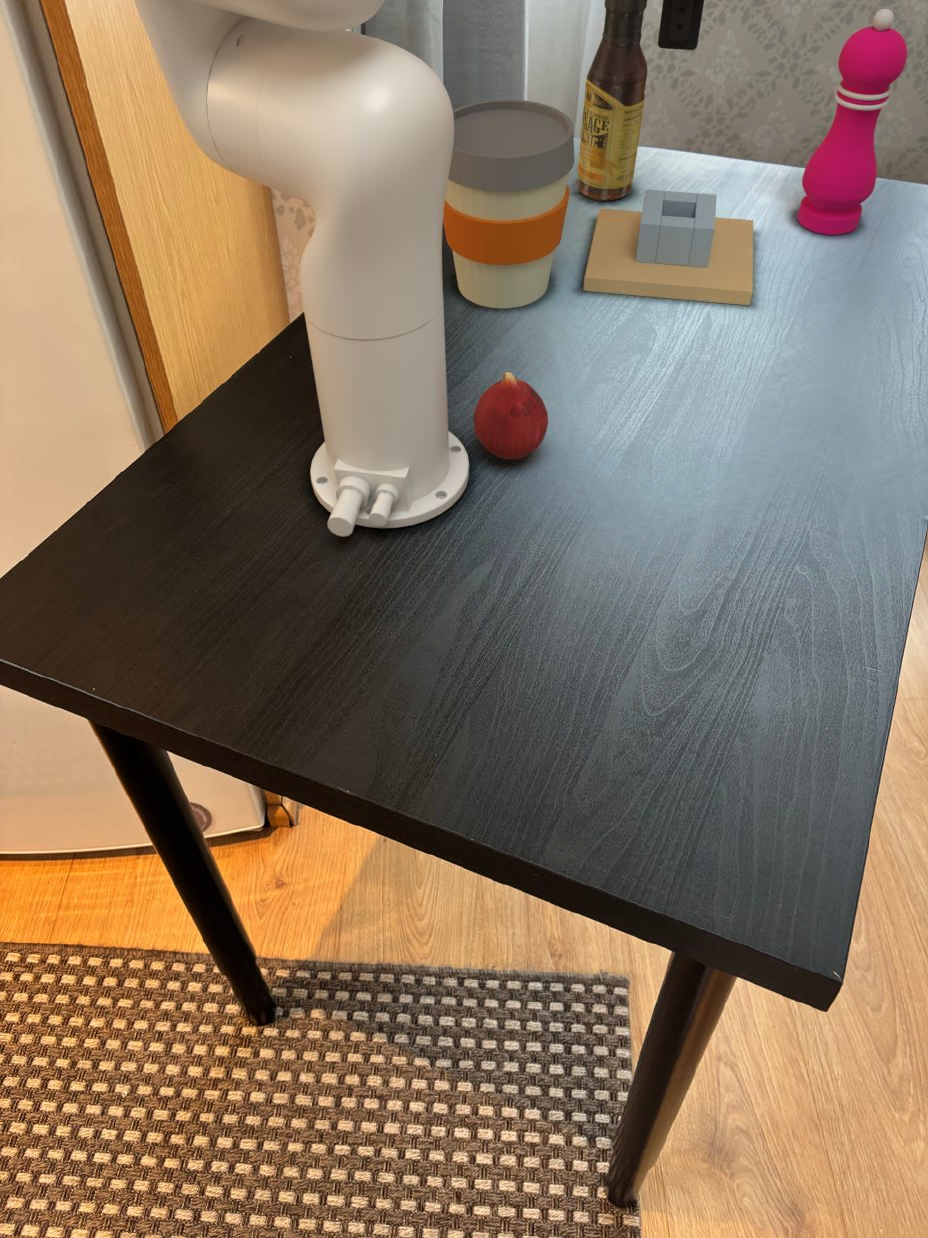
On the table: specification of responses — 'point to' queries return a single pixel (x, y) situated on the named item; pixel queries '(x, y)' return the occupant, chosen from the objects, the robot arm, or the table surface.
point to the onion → (510, 418)
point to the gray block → (676, 228)
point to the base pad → (623, 275)
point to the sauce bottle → (613, 104)
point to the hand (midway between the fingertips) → (680, 27)
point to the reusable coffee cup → (507, 198)
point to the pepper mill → (852, 130)
